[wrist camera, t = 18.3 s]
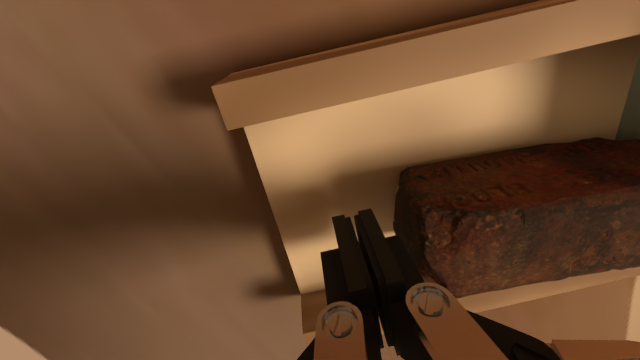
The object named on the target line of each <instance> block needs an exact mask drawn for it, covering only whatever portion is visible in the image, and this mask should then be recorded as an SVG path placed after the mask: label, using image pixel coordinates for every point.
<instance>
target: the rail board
mask: <svg viewBox="0 0 640 360" xmlns="http://www.w3.org/2000/svg"><path fill="white" fill-rule="evenodd" d="M211 88H212V91H213V94H214V96H215V99H216V102H217V104H218V107H219V110H220V112H221V115H222V118H223V120H224V123H225V126H226V128H227V131H229V130H233V129H237V128H242V127H244V130H245V133H246V136H247V139H248V141H249V144H250V147H251V150H252V153H253V156H254V159H255V162H256V165H257V168H258V171H259V174H260V177H261V179H262V182H263V185H264V188H265V191H266V194H267V197H268V200H269V203H270V206H271V209H272V212H273V215H274V217H275V220H276V223H277V226H278V229H279V232H280V235H281V238H282V241H283V244H284V247H285V250H286V252H287V255H288V258H289V261H290V264H291V267H292V270H293V273H294V276H295V279H296V282H297V285H298V288H299V290H300V293H301V306H302V326H303V336H304V338H305V341H306V344H307V346H308V345H309V344H310V343H311V342H312V340H313V339H314V338H315V333H316V322H317V318H318V315H319V314H320V312H321V311H322V310H323V309H324V308H325V307H326V306H327V299H326V291H325V284H324V277H323V269H322V262H321V254H320V252H323V251H328V250H332V249H337V248H338V244H337V239H336V235H335V230H334V226H333V221H332V217H334V216H338V215H343V214H344V215H345V217H350V218H351V221H352V224H353V227H354V230H355V233H356V236H357V231H356V226H355V220H354V215H358V211H361V210H365V209H370V208H371V209H372V211H373V213H374V215H375V217H376V219H377V222H378V224H379V226H380V228H381V230H382V232H383V234H384V236H385V238H386V237H390V236H395V232H394V230H393V221H395V220H394V210H395V198H396V197H395V196H396V191H397V188H398V186H399V176H400V173H401V172H402V171H403V170H405V169H406V168H408V167H413V166H419V165H425V164H431V163H437V162H441V161H447V160H453V159H459V158H466V157H471V156H477V155H482V154H488V153H494V152H500V151H505V150H510V149H518V148H523V147H530V146H535V145H540V144H547V143H548V144H555V143H570V142H574V141H578V140H582V139H591V138H595V137H599V138H604V139H609V140H617V141H619V140H640V0H540V1H536V2H531V3H527V4H523V5H519V6H514V7H510V8H506V9H502V10H497V11H493V12H489V13H485V14H480V15H476V16H472V17H468V18H463V19H459V20H455V21H451V22H446V23H442V24H438V25H434V26H429V27H425V28H421V29H417V30H412V31H408V32H404V33H400V34H395V35H391V36H387V37H383V38H378V39H374V40H370V41H366V42H361V43H357V44H353V45H349V46H344V47H340V48H336V49H332V50H327V51H323V52H319V53H315V54H310V55H306V56H302V57H298V58H293V59H289V60H285V61H281V62H276V63H272V64H268V65H264V66H259V67H255V68H251V69H247V70H242V71H238V72H234V73H231V74H229V75H228V76H226V77H225V78H223V79H222V80H220V81H219V82H217V83H216V84H214V85H213V86H211ZM357 239H358V237H357ZM638 275H640V267H635V268H627V269H624V270H616V269H614V270H610V271H606V272H601V273H594V274H588V275H581V276H575V277H568V278H566V279H563V280H558V281H548V282H542V283H536V284H529V285H523V286H518V287H513V288H510V289H505V290H499V291H490V292H485V293H480V294H475V295H468V296H456V295H454V294H452V295H453V296H454V297H455V298H456V299H457V300H458V302H459V303H460V304H461V305H462V306H463V307H464V309H465V310H468V311H470V312H473V313H477V312H481V311H486V310H490V309H494V308H499V307H503V306H508V305H512V304H516V303H521V302H525V301H529V300H534V299H538V298H542V297H547V296H551V295H555V294H560V293H564V292H568V291H573V290H577V289H581V288H586V287H590V286H595V285H599V284H603V283H608V282H612V281H616V280H621V279H625V278H629V277H634V276H638ZM422 278H423V277H422ZM423 280H424V282H426V283H435V284H437V283H436V282H435V281H434V280H433V279H432V278H430V277H429V278H428V279H425V278H423ZM379 322H380V319H379ZM380 328H381V334H384V332H383V329H382V325H381V322H380Z"/></svg>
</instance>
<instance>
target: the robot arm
mask: <svg viewBox="0 0 640 360" xmlns="http://www.w3.org/2000/svg"><path fill="white" fill-rule="evenodd" d="M354 220H355V226H356V231H357V236H356V233H355V230H354V227H353V224H352V221H351V218H350V217H345V215H344V214H343V215H338V216H334V217H332V221H333V226H334V230H335V235H336V239H337V244H338V248H337V249H332V250H328V251H323V252H320V254H321V262H322V269H323V277H324V284H325V291H326V299H327V306H326V307H325V308H324V309H323V310H322V311H321V312H320V314H319V315H318V318H317V322H316V333H315V338H314V339H313V340H312V342H311V343H310V344H309V345H308V347H307V348H306V349H305V350H304V352H303V353H302V354H301V355H300V357H299V358H298V359H297V360H382V358H381V352H380V349H381V348H384V345H383V340H382V334H381V328H380V322H381V325H382V329H383V332H384V335H385V338H386V341H387V344H388V346H389V347H390V346H394V347H395V350H396V353H397V356H398V355H401V358H403V359H405V360H640V342H635V341H628V340H552V343H544V342H542V341H540V340H538V339H536V338H534V337H532V336H530V335H527V334H525V333H522V332H520V331H517V330H515V329H512V328H510V327H507V326H505V325H503V324H500V323H498V322H495V321H493V320H490V319H488V318H485V317H483V316H480V315H478V314H475V313H473V312H470V311H468V310H465V309H464V307H463V306H462V305H461V304H460V303H459V302H458V300H457V299H456V298H455V297H454V296H453V295H452V293H451V292H449V291H448V290H447V289H446V288H444V287H442V286H441V285H438V284H435V283H426V282H424V280H423V278H422V276H421V274H420V273H419V271H418V269H417V267H416V265H415V264H414V262H413V260H412V258H411V256H410V255H409V253H408V251H407V249H406V247H405V246H404V244H403V242H402V240H401V239H400V237H399V236H398V235H395V236H390V237H386V238H385V236H384V234H383V232H382V230H381V228H380V226H379V224H378V222H377V219H376V217H375V215H374V213H373V211H372V209H371V208H370V209H365V210H361V211H358V215H354ZM357 237H358V239H357ZM379 319H380V322H379Z"/></svg>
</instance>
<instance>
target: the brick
mask: <svg viewBox="0 0 640 360" xmlns="http://www.w3.org/2000/svg"><path fill="white" fill-rule="evenodd" d="M395 197H396V198H395V210H394V220H395V221H393V230H394V232H395V235H398V236H399V237H400V239H401V240H402V242H403V244H404V246H405V247H406V249H407V251H408V253H409V255H410V256H411V258H412V260H413V262H414V264H415V265H416V267H417V269H418V271H419V273H420V274H421V276H422V277H423V278H425V279H428V278H429V277H430V278H432V279H433V280H434V281H435V282H436V283H437V284H438V285H441V286H442V287H444V288H446V289H447V290H448V291H449V292H451V293H452V294H454V295H456V296H468V295H475V294H480V293H485V292H490V291H499V290H505V289H510V288H513V287H518V286H523V285H529V284H536V283H542V282H548V281H558V280H563V279H566V278H568V277H575V276H581V275H588V274H594V273H601V272H606V271H610V270H614V269H616V270H624V269H627V268H635V267H640V140H619V141H617V140H609V139H604V138H599V137H595V138H591V139H582V140H578V141H574V142H570V143H555V144H548V143H547V144H540V145H535V146H530V147H523V148H518V149H510V150H505V151H500V152H494V153H488V154H482V155H477V156H471V157H466V158H459V159H453V160H447V161H441V162H437V163H431V164H425V165H419V166H413V167H408V168H406V169H405V170H403V171H402V172H401V173H400V176H399V186H398V188H397V191H396V196H395Z"/></svg>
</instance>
